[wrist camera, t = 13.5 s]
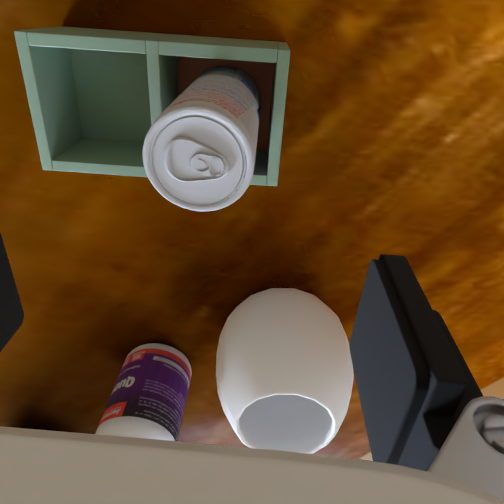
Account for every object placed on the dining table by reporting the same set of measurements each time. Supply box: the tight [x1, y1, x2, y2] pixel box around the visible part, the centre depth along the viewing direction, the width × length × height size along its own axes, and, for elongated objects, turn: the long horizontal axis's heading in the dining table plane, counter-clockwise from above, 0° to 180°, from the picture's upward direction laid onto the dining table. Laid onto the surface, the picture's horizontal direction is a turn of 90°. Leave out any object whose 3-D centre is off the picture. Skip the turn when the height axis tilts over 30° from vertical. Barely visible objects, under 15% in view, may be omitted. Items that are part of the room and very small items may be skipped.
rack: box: [14, 26, 290, 186], centre depth 31 cm, size 17×9×7 cm, turn 87°
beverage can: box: [143, 65, 261, 211], centre depth 27 cm, size 6×6×15 cm
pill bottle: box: [95, 343, 192, 441], centre depth 44 cm, size 8×8×14 cm
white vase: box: [216, 288, 354, 454], centre depth 40 cm, size 13×13×14 cm
